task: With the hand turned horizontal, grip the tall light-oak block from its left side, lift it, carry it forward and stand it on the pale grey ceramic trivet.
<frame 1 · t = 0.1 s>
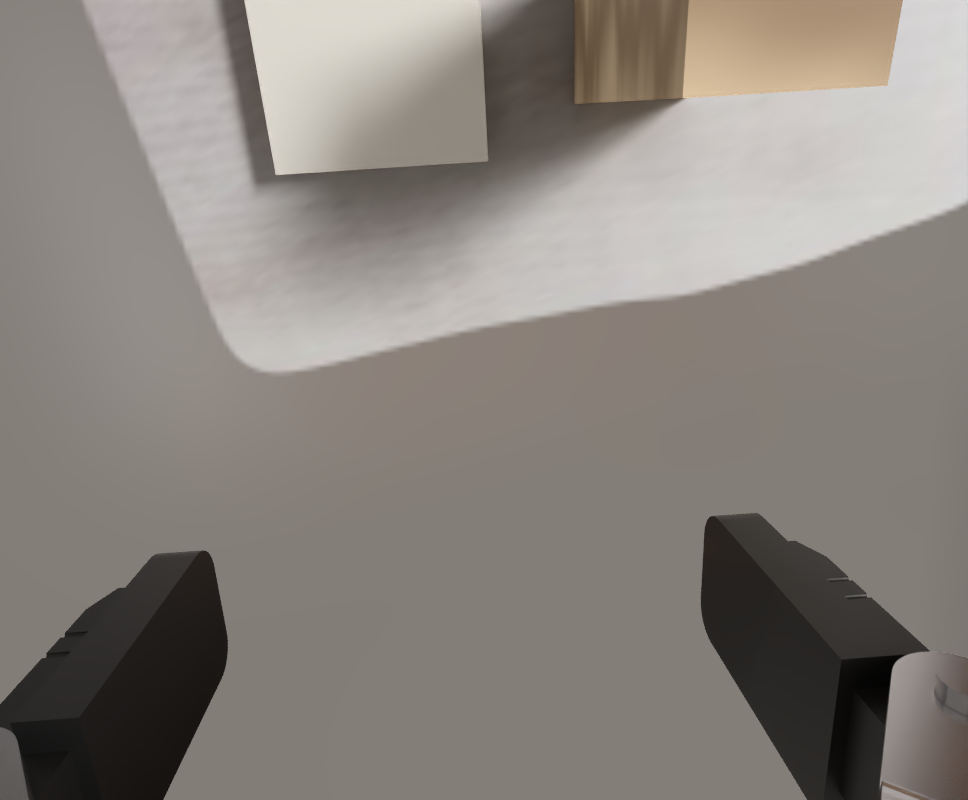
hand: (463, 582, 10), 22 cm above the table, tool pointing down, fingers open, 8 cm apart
trivet: (372, 51, 27), on the table
oak block: (633, 35, 27), on the table
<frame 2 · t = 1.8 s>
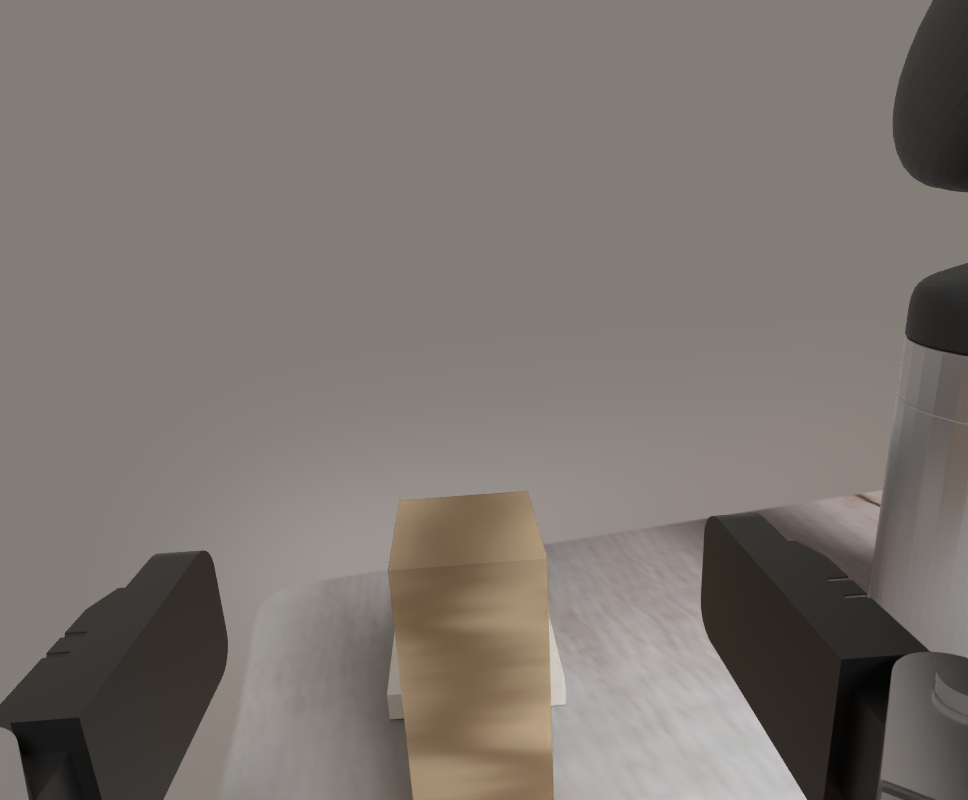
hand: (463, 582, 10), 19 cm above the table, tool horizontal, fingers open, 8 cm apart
trivet: (474, 653, 37), on the table
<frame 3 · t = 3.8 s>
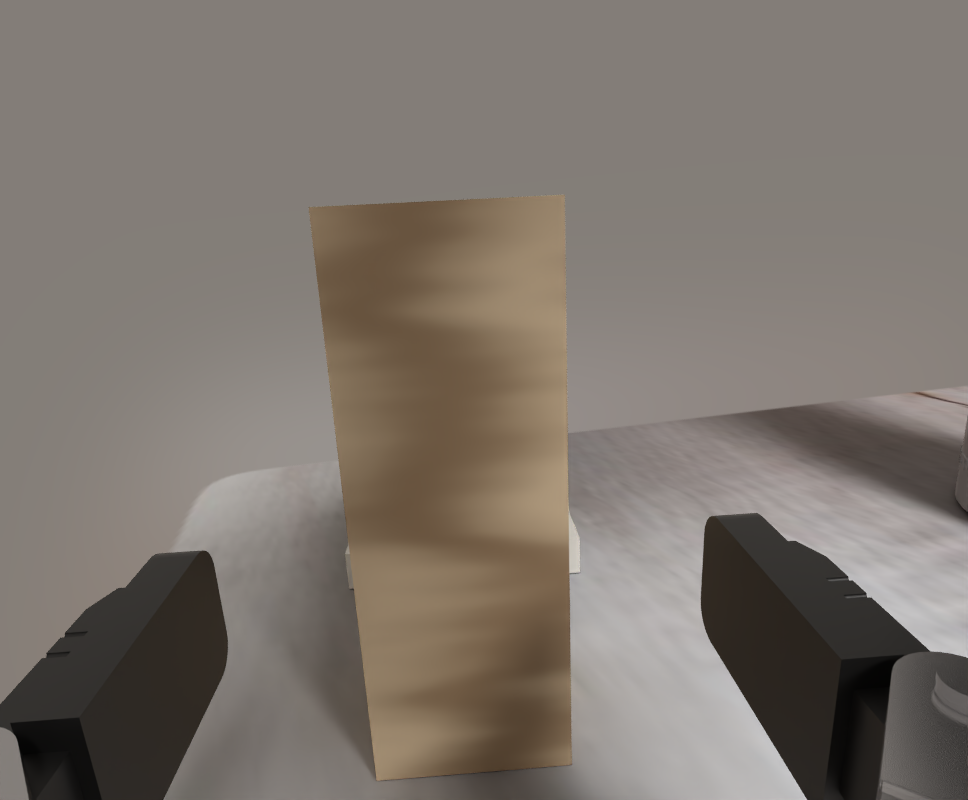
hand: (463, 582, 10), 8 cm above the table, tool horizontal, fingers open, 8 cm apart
trivet: (462, 526, 29), on the table
oak block: (471, 701, 19), on the table
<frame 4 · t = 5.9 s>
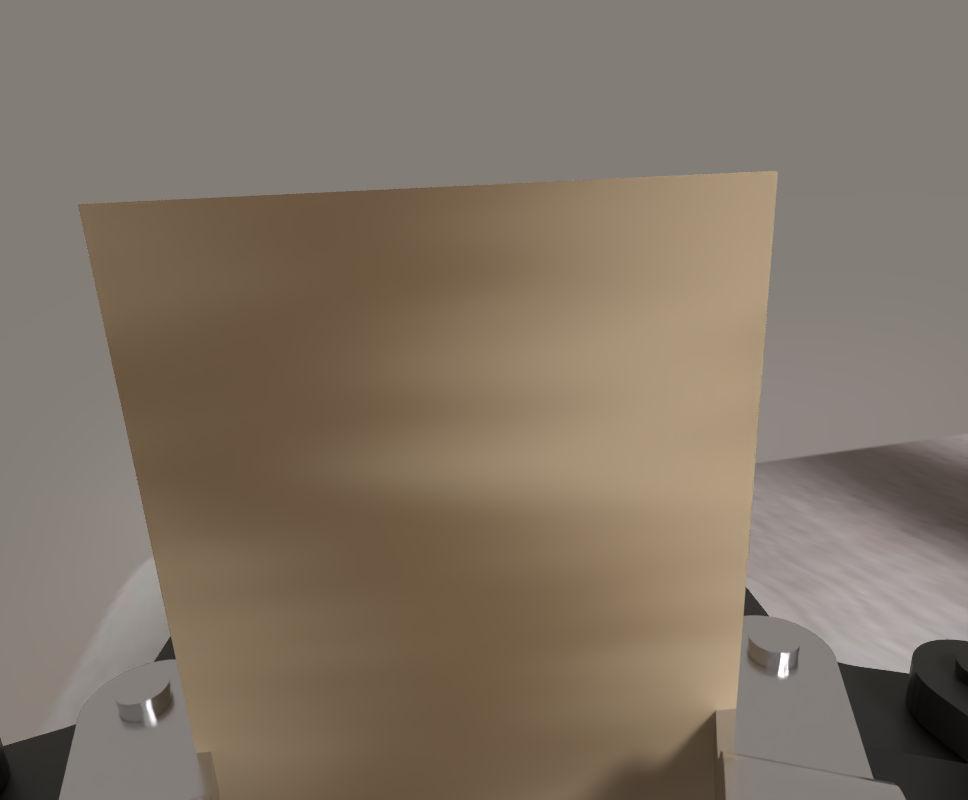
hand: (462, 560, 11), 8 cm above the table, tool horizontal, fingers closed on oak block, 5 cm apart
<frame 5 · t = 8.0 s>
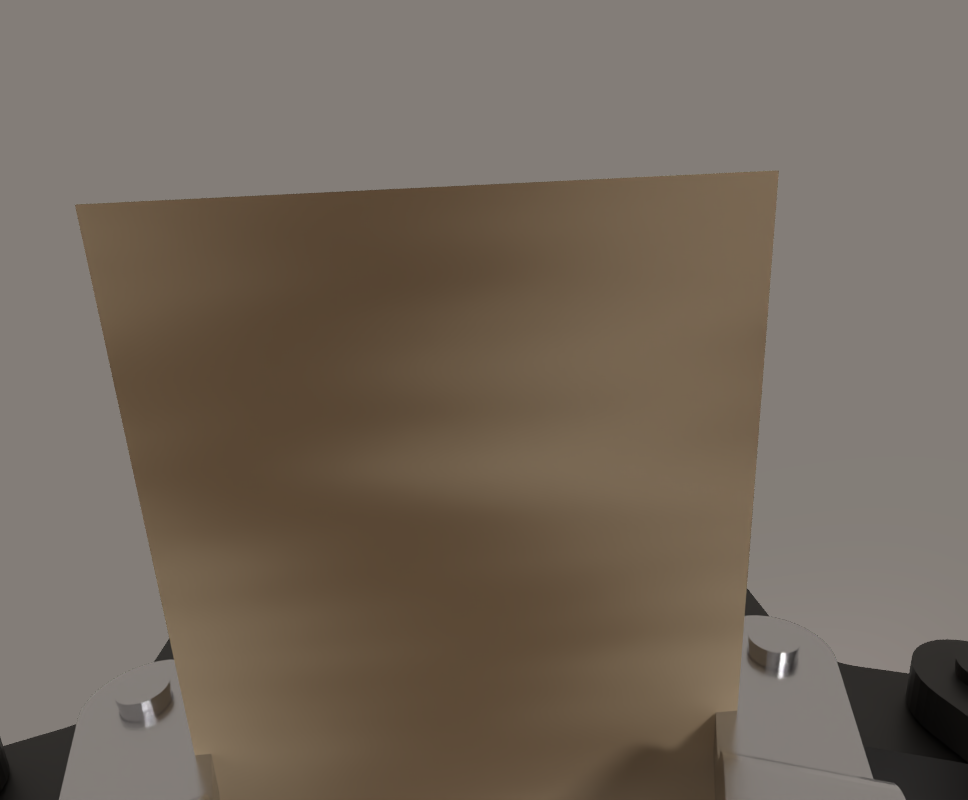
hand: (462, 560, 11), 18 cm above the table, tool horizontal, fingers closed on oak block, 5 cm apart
when the fingers open (10 cm above the table, at t = 9.9 s): oak block stays where it is, resting on trivet.
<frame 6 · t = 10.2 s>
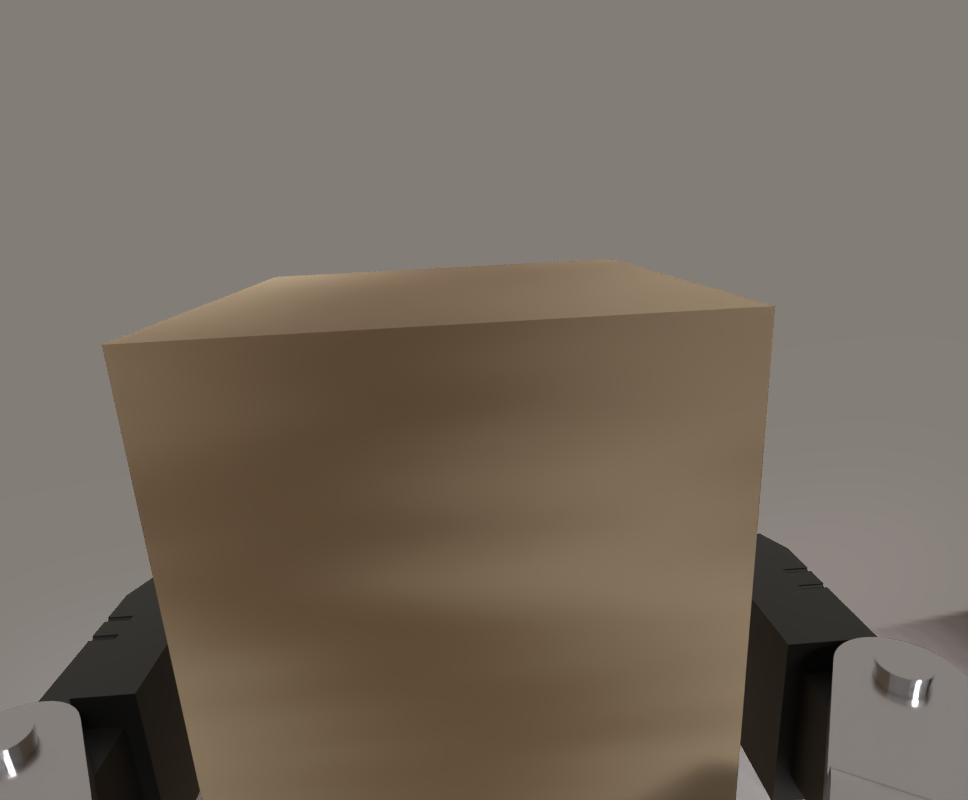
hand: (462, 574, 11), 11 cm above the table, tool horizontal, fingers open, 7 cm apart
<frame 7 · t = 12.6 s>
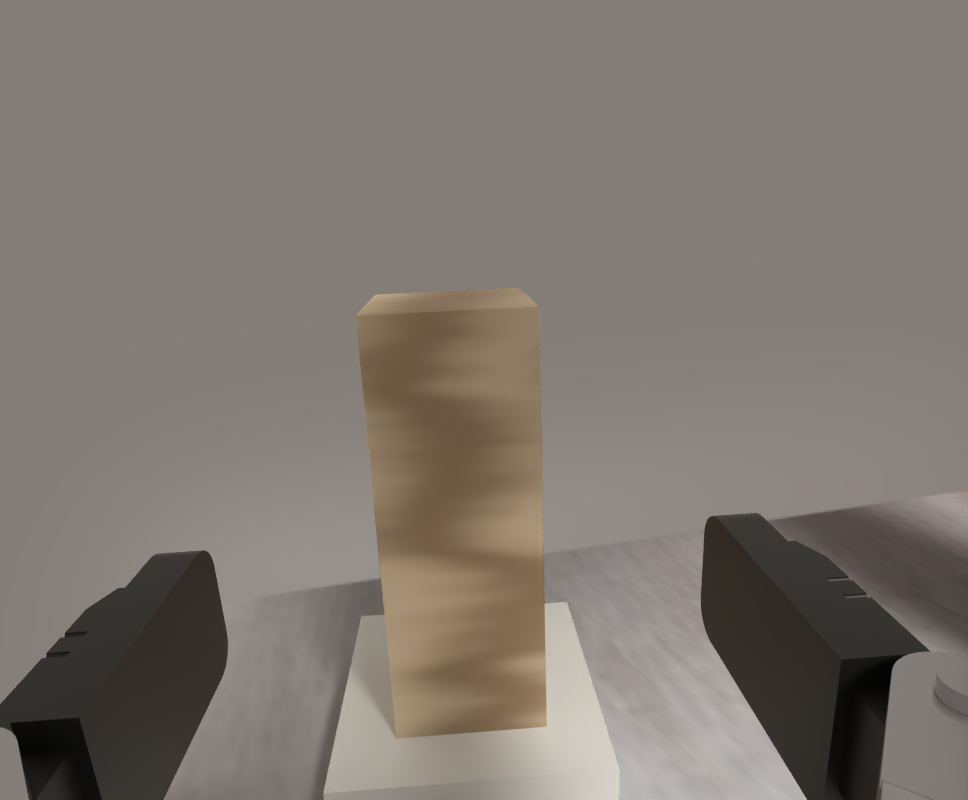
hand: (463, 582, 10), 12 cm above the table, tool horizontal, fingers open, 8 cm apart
trivet: (470, 713, 24), on the table
oak block: (469, 680, 24), point 1 cm above the table, touching trivet
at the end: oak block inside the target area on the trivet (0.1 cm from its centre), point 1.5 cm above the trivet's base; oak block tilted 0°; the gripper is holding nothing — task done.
